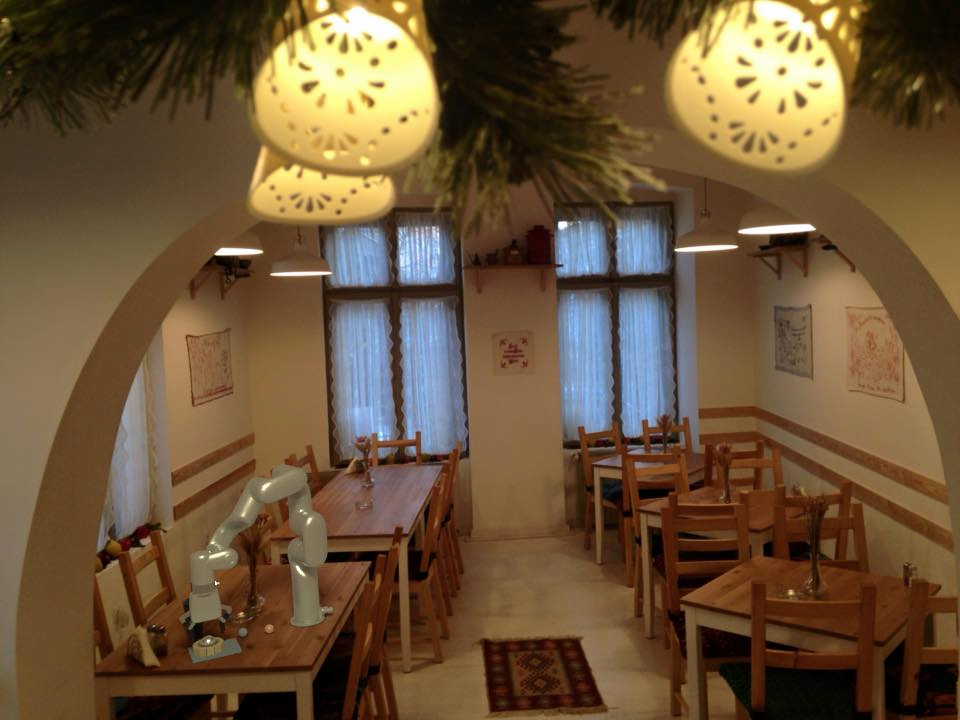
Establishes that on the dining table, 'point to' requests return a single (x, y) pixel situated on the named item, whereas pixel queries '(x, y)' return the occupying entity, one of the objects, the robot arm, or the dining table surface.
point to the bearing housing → (214, 649)
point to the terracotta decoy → (269, 628)
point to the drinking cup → (197, 627)
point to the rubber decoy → (242, 632)
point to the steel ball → (208, 641)
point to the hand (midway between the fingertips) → (207, 636)
